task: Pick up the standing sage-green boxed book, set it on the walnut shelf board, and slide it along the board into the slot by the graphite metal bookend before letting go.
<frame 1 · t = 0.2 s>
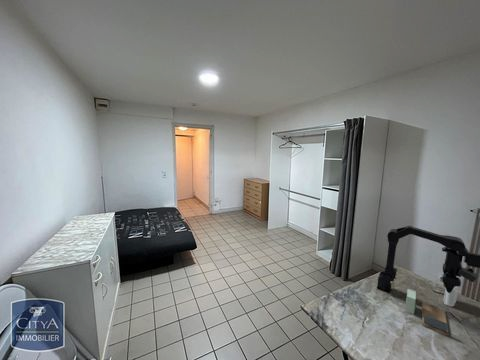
hand: (448, 288, 103), 14 cm above the table, fingers open, 9 cm apart
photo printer: (449, 302, 112), on the table
book: (409, 308, 108), on the table
shelf board: (433, 318, 101), on the table
bookend: (434, 329, 95), resting on shelf board
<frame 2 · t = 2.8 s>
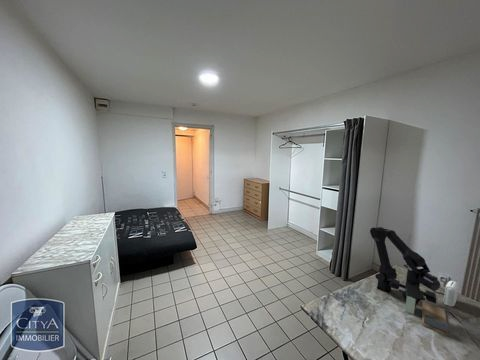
hand: (410, 303, 107), 3 cm above the table, fingers closed on book, 3 cm apart
book: (409, 308, 107), on the table, touching gripper
everything else where it was.
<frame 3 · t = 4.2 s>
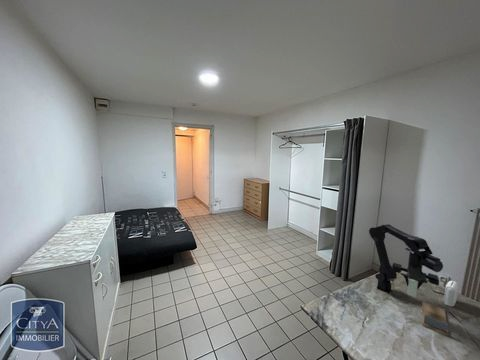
hand: (412, 287, 106), 13 cm above the table, fingers closed on book, 3 cm apart
book: (411, 292, 106), point 10 cm above the table, touching gripper
everything else where it was.
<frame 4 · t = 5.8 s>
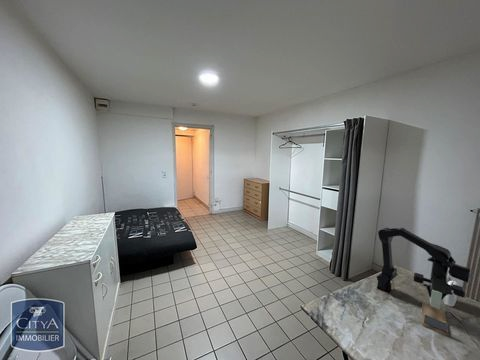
hand: (435, 298, 103), 9 cm above the table, fingers closed on book, 3 cm apart
book: (434, 303, 103), point 6 cm above the table, touching gripper
everything else where it was.
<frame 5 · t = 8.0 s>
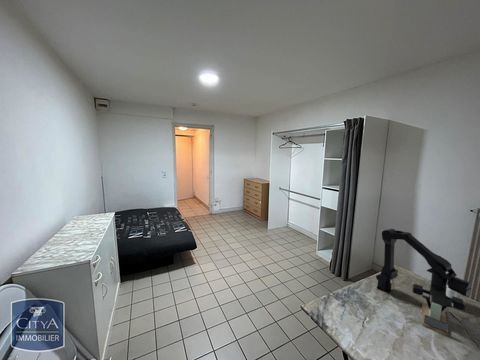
hand: (434, 310, 101), 4 cm above the table, fingers closed on book, 3 cm apart
book: (434, 315, 101), point 1 cm above the table, touching gripper
everything else where it was.
when the fingers open (4 cm above the table, at t = 9.2 s): book stays where it is, resting on shelf board.
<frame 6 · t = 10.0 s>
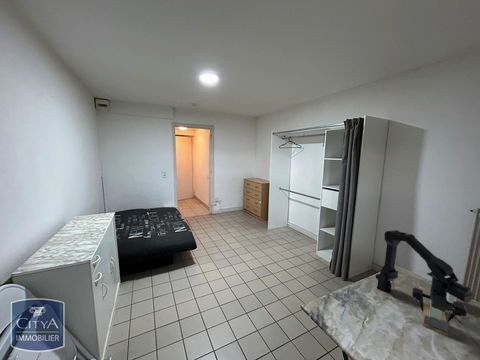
hand: (435, 315, 98), 4 cm above the table, fingers open, 9 cm apart
book: (434, 320, 98), point 1 cm above the table, touching shelf board
everything else where it was.
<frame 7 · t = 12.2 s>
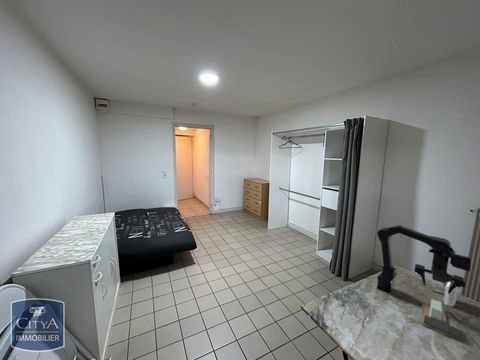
hand: (436, 289, 104), 13 cm above the table, fingers open, 9 cm apart
nothing on the table moved.
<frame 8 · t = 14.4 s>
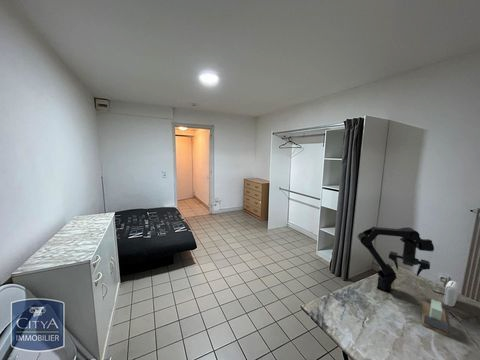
hand: (407, 272, 119), 13 cm above the table, fingers open, 9 cm apart
nothing on the table moved.
at the end: book 0.0 cm from the target spot, point 1.2 cm above the table; book tilted 0°; the gripper is holding nothing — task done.
